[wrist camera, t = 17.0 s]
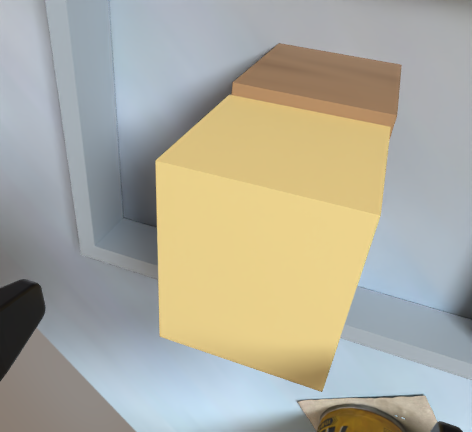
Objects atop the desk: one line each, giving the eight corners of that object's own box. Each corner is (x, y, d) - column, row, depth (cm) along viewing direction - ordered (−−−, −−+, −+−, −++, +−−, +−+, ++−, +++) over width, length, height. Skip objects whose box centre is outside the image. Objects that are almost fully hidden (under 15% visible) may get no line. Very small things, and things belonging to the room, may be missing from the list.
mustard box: (344, 278, 16) (322, 391, 12) (217, 243, 17) (159, 336, 13) (390, 126, 13) (380, 215, 9) (229, 94, 14) (155, 160, 10)
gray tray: (793, -75, 12) (887, -76, 10) (504, 344, 22) (515, 394, 20) (77, -144, 17) (23, -156, 15) (109, 226, 27) (81, 254, 25)
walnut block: (357, 210, 21) (341, 291, 17) (259, 185, 22) (217, 254, 18) (401, 64, 17) (397, 115, 13) (279, 42, 18) (232, 82, 14)
